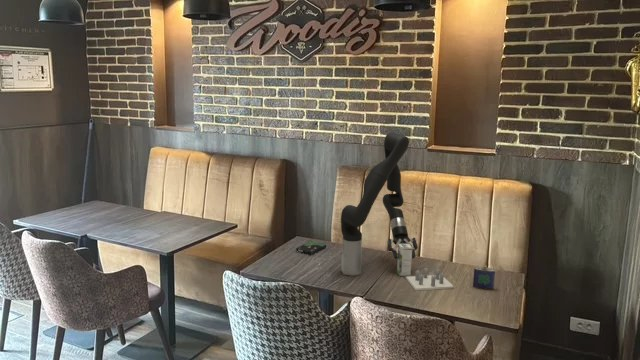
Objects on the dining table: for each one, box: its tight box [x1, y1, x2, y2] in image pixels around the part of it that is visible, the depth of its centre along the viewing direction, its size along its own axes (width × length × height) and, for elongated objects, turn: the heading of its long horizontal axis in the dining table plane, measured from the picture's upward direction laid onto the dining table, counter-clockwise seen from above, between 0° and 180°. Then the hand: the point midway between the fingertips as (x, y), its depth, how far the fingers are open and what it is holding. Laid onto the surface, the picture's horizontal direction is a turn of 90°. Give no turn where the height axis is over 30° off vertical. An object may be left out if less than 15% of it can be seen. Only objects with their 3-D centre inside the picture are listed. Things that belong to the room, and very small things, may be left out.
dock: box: [405, 267, 454, 291], centre depth 243 cm, size 18×14×6 cm
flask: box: [472, 265, 496, 291], centre depth 238 cm, size 9×3×11 cm, turn 74°
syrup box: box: [396, 243, 412, 277], centre depth 253 cm, size 6×6×14 cm
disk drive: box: [295, 241, 327, 256], centre depth 287 cm, size 10×3×15 cm
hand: (405, 258), depth 252 cm, fingers open, 8 cm apart
